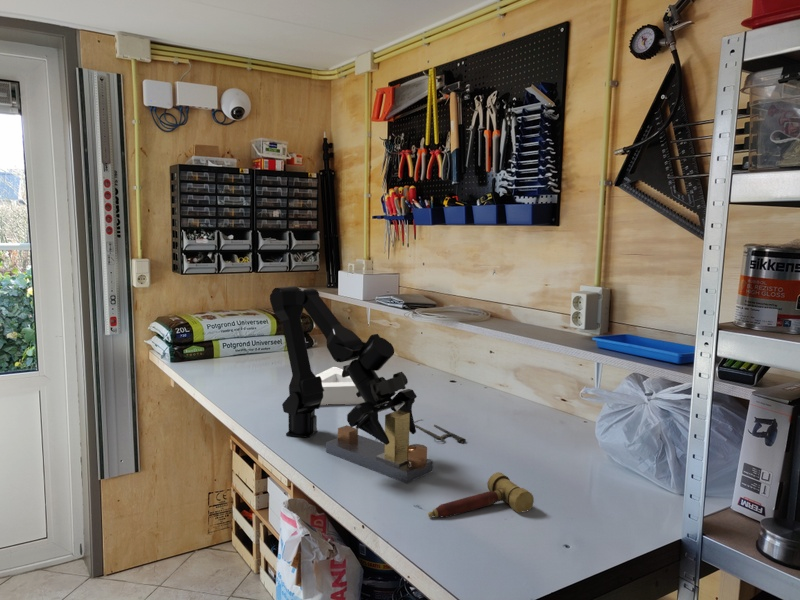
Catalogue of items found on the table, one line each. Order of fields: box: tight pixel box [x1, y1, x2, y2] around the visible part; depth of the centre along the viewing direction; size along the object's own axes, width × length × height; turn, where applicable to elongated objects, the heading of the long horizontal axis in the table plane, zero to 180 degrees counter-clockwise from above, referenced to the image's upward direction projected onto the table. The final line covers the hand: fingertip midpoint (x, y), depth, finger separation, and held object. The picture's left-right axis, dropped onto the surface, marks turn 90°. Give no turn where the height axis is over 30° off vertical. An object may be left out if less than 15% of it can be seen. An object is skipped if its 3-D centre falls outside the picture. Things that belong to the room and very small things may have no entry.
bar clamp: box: [414, 419, 467, 444], centre depth 162 cm, size 24×10×2 cm, turn 29°
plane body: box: [325, 425, 434, 484], centre depth 141 cm, size 27×9×6 cm, turn 49°
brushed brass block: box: [384, 410, 410, 461], centre depth 137 cm, size 3×5×10 cm, turn 139°
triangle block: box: [314, 366, 365, 406], centre depth 191 cm, size 30×26×6 cm
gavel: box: [427, 471, 535, 518], centre depth 119 cm, size 21×5×10 cm
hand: (401, 438), depth 136 cm, fingers open, 9 cm apart
